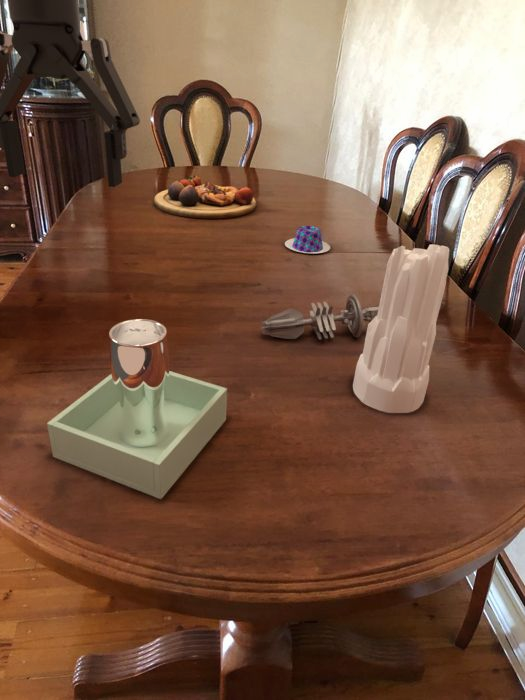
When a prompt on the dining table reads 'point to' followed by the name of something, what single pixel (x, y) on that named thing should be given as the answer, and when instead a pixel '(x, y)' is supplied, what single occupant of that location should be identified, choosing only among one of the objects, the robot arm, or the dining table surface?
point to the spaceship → (320, 320)
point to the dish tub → (129, 461)
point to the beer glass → (140, 379)
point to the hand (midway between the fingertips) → (65, 180)
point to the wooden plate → (204, 200)
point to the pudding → (308, 241)
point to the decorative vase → (403, 331)
